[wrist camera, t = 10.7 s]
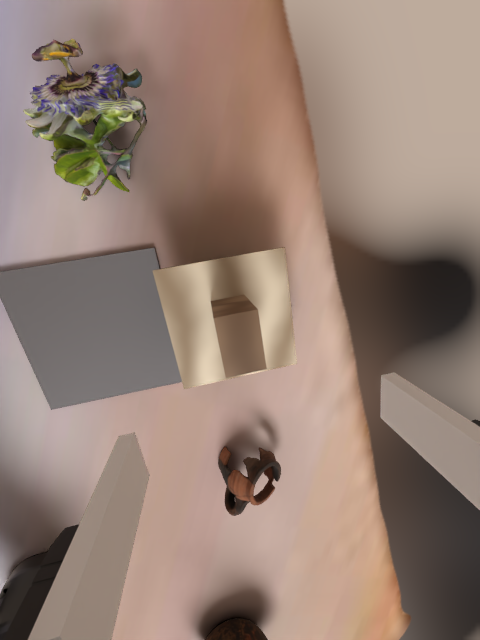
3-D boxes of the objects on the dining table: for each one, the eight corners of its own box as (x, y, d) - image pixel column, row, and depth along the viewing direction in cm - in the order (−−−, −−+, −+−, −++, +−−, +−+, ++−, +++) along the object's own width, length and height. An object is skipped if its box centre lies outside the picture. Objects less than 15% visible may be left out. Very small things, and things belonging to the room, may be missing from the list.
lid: (184, 385, 32) (178, 430, 24) (154, 270, 28) (134, 278, 19) (294, 360, 33) (323, 396, 25) (282, 247, 29) (312, 246, 21)
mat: (53, 407, 36) (51, 409, 36) (-8, 273, 30) (-11, 273, 30) (187, 379, 38) (187, 380, 38) (154, 247, 32) (154, 247, 32)
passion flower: (113, 128, 33) (129, 23, 23) (156, 204, 34) (188, 134, 24) (12, 131, 26) (-27, -14, 17) (69, 223, 28) (65, 140, 18)
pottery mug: (225, 429, 43) (257, 459, 36) (259, 430, 49) (292, 455, 43) (200, 497, 42) (228, 538, 36) (238, 488, 48) (268, 523, 42)
